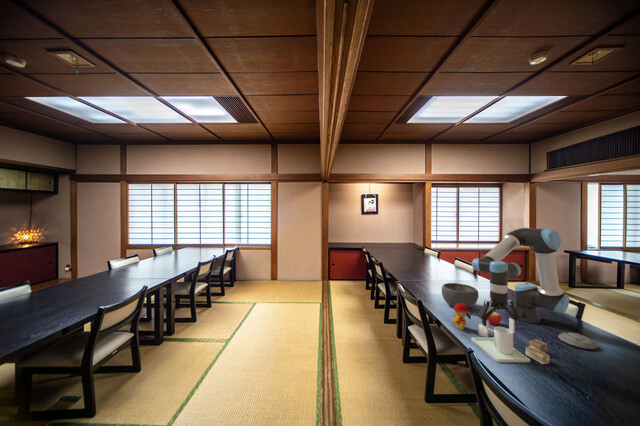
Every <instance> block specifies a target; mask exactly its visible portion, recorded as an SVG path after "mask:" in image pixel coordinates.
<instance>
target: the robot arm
mask: <svg viewBox="0 0 640 426" xmlns="http://www.w3.org/2000/svg"><path fill="white" fill-rule="evenodd" d="M519 247H528V248H529V247H530V249H531V252H532V253H534V254H535V260H536V266H537V271H538V279H539V285H540V286H539V287H538V286H537V285H536V284H533V283H531V284H530V283H517V284H516V285H515V286H514V301H513V300H511V299H509V294H508V292H509V289H508V288H509V286H508V285H509V284H508V282H509V281H508V280H509V279H512V278H517V277H518V276H520V275H521V273H522V269H521V267H520V265H519V264H517V263H515V262H505V261H502V260H503V259H504V258H506V256H507V255H509V254H510V253H511V252H512V251H513V250H514V249H517V248H519ZM561 247H562V240H561V236H560V234H559V233H558V231H556V230H555V229H549V228H533V227H532V228H531V227H522V228H517V229H515V230H514V229H513V230H512V231H509V232H507V234H505V235H504V236H503V237H502V239H501V241H500V242H499V243H497V244H496V245H495V246H494V247H493V248H491V250H490V251H488V252H487V253H486V254H485V255H484V256H483V257H481V258H479V257H478V258H476V257H475V258H473V260H472V261H471V267H472V269H473V270H475V272H476V271H477V272H479V273H484V274H489V289H490V290H489V297H490V300H486V299H484V302H483V305H482V307H481V309H480V312H479V313H478V316H477V317H478V318H479V319H481V323H482V325H484V331H485V332H486V333H488V334H489V331H490V330H489V328H490V327H489V322H488V320H487V319H488V318H489V317H490V315H491V314H492V313H493V312H496V311H501V310H502V311H503V310H504V312H506V314H507V315H508V316H509V318H508V329H510V330H511V331H513V334H514V333H516V331H515V329H516V328H515V327H516V325H517V321H520V322H525V323H530V324H540V323H541V317H540V314H539V311H538V308H540V309H541V308H542V309H545V310H548V311H551V312H553V313H558V314H559V313H560V314H563V313H565V312H566V311H567V309H568V308H569V304H570V296H569V295H567V294H565V293H564V290H563V289H562V288H561V287H560V282H559V275H558V269H557V264H556V263H557V262H556V256H555V254H556V253H557V252H558V250H559V249H560V248H561ZM508 307H509V308H508Z"/></svg>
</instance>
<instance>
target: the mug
mask: <svg viewBox="0 0 640 426" xmlns="http://www.w3.org/2000/svg"><path fill="white" fill-rule="evenodd" d="M493 328H494V329H492V328H490V327H489V331H491V332H492V333H493V338H494V342H493V341H492V340H490V339H489V338H490V337H489V336H488V337H487V335H486V332H485V331H484V333H485V336H486V337H485V338H487V339H488V340H490V341H491V342H492V343H494V348H495V349H496V350H497V351H498V352H501V353H504V354H512V353H513V348H514V333H513V331H511V330H510V329H509V328H507V327H503V326H495V327H493Z"/></svg>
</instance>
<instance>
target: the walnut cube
mask: <svg viewBox="0 0 640 426" xmlns="http://www.w3.org/2000/svg"><path fill="white" fill-rule="evenodd" d="M530 346H533V347H535V348H536V349H538V350H540V351H542V352H544V353H546V354H548V343H546V342H543V341H542V340H540V339H535V338H534V339H531V340H529V345H528V347H530Z"/></svg>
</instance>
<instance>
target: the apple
mask: <svg viewBox="0 0 640 426" xmlns="http://www.w3.org/2000/svg"><path fill="white" fill-rule="evenodd" d="M487 320H488V324H490V325H493V326H494V325H495V326H497V325H499V324H500V323H501V322H502V315H501V314H500V313H498V312H496V311H494V312H493V313H492V314H491V315H490V317H489V318H488V319H487Z"/></svg>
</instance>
